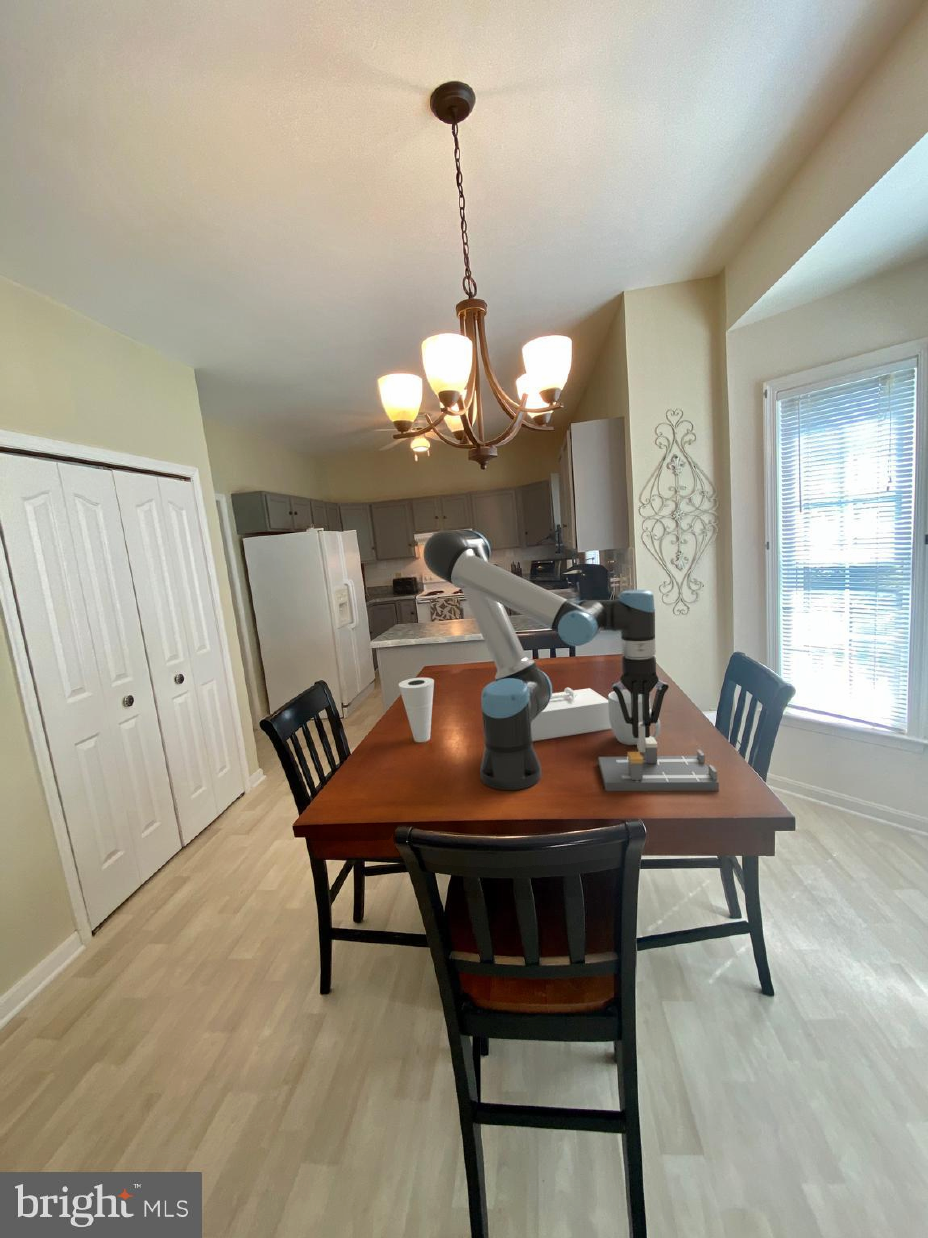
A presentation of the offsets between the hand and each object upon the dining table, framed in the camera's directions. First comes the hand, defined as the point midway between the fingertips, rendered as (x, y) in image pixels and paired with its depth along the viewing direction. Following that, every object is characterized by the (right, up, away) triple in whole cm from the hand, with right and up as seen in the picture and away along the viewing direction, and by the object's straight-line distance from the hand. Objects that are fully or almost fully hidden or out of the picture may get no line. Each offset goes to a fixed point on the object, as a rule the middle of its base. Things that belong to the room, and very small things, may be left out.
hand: (641, 749), depth 117 cm
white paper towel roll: (-56, -5, +30) cm, 64 cm away
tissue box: (-13, -2, +31) cm, 34 cm away
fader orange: (-4, -4, -7) cm, 9 cm away
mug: (+4, -2, +16) cm, 17 cm away
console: (+2, -5, -3) cm, 7 cm away
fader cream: (+2, -3, 0) cm, 4 cm away
